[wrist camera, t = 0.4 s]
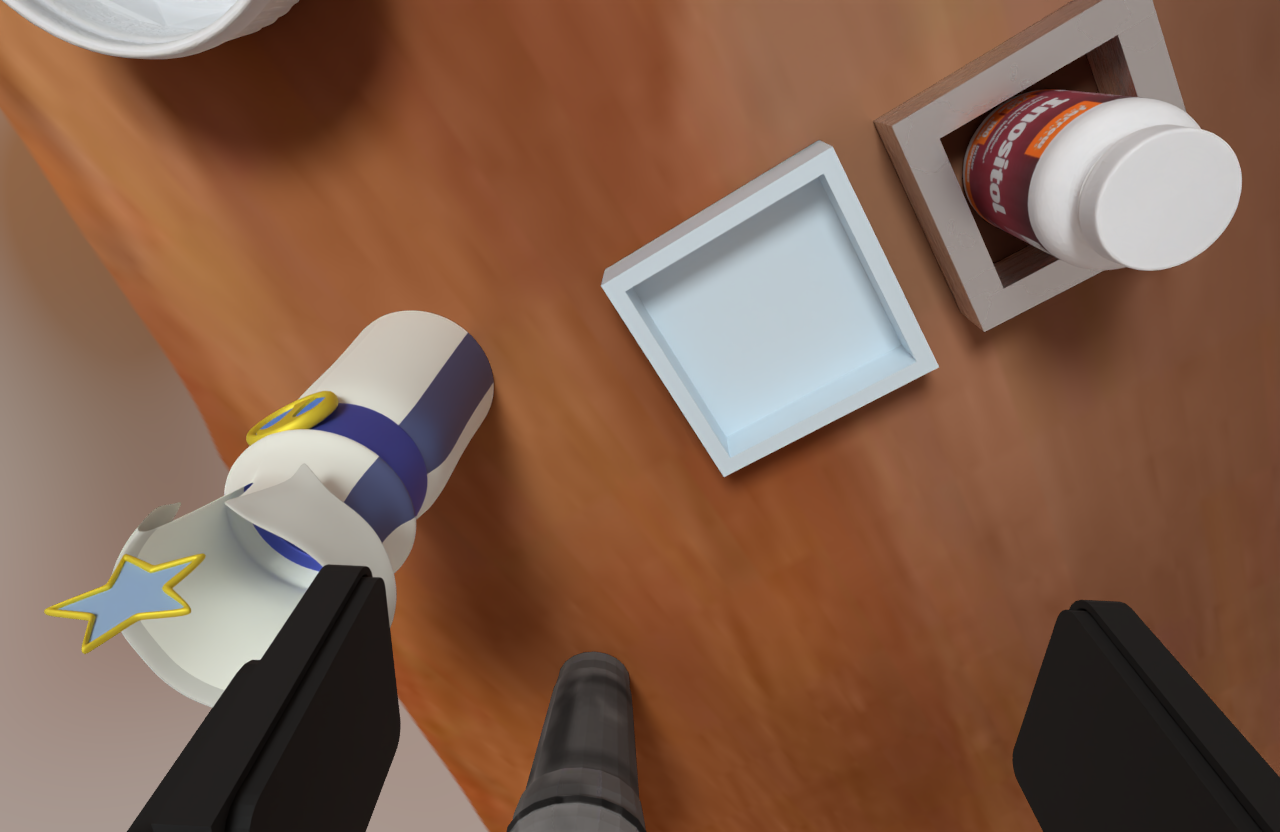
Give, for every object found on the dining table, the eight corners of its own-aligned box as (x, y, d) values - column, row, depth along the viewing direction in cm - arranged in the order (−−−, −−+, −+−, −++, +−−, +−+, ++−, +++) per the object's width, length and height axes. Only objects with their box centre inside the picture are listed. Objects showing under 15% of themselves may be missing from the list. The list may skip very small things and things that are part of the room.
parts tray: (818, 140, 35) (832, 146, 33) (919, 346, 39) (939, 367, 37) (605, 269, 38) (601, 285, 35) (719, 450, 42) (723, 477, 39)
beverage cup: (634, 623, 47) (621, 977, 29) (663, 711, 50) (668, 1082, 32) (521, 646, 48) (439, 1002, 30) (556, 731, 51) (501, 1103, 33)
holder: (1103, -18, 33) (1144, -25, 30) (1174, 201, 36) (1216, 212, 33) (873, 120, 35) (891, 126, 32) (961, 313, 39) (984, 332, 36)
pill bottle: (996, 69, 34) (1139, 71, 24) (1122, 112, 35) (1312, 133, 25) (934, 207, 37) (1039, 262, 26) (1052, 245, 37) (1198, 313, 27)
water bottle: (303, 339, 40) (-165, 707, 17) (450, 278, 38) (151, 593, 16) (383, 470, 43) (78, 928, 20) (522, 418, 42) (361, 850, 19)
